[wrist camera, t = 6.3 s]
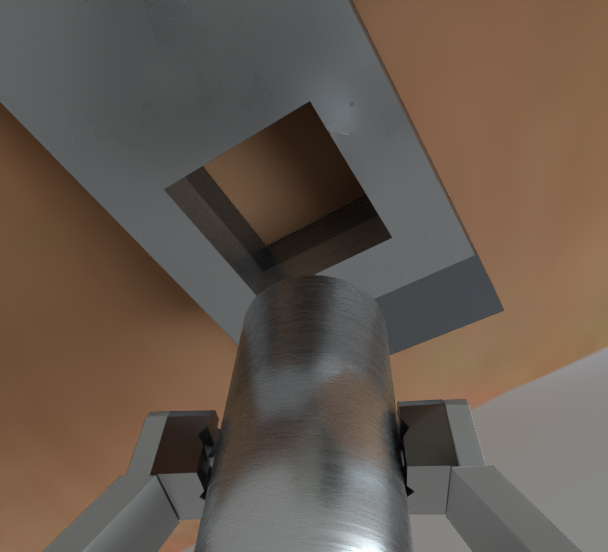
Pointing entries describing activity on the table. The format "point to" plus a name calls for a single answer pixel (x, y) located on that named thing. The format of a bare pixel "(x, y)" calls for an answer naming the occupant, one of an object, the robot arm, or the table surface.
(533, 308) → the table surface
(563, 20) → the table surface
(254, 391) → the pin
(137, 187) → the square-holed grey plate
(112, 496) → the robot arm
